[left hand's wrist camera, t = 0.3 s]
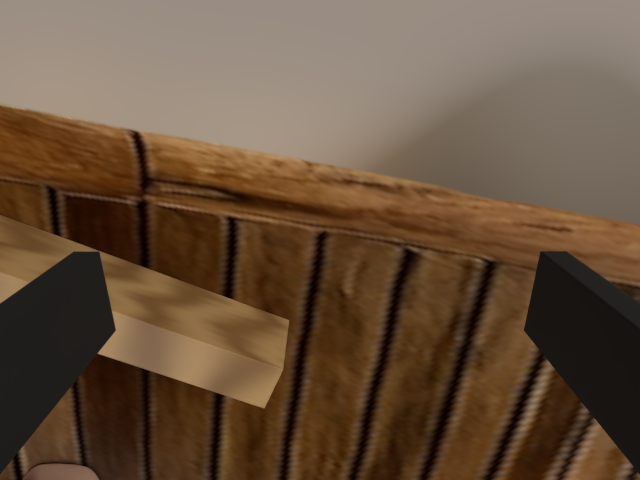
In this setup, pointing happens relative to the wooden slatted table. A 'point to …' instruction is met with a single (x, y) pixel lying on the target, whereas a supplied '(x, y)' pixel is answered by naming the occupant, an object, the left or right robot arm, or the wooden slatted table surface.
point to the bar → (163, 319)
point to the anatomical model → (60, 472)
